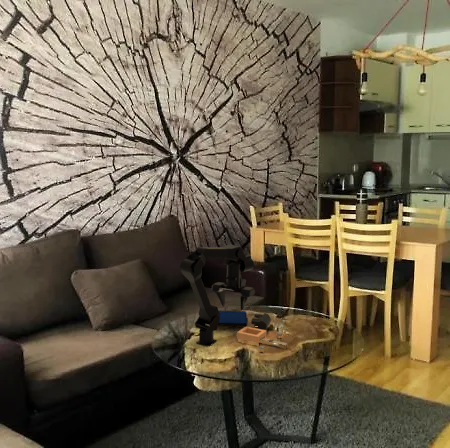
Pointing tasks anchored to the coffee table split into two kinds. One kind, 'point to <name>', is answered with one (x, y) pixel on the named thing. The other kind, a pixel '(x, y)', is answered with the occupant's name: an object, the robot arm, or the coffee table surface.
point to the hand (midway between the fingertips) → (232, 308)
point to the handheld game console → (233, 318)
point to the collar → (251, 334)
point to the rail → (272, 341)
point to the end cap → (261, 321)
